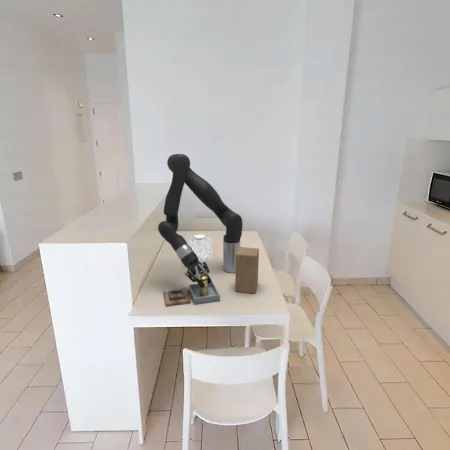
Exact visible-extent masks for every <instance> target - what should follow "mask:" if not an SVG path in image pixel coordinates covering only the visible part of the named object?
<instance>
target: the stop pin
mask: <svg viewBox="0 0 450 450" xmlns="http://www.w3.org/2000/svg"><path fill="white" fill-rule="evenodd" d="M199 276H200V279H201V280H202V281H203V283H204V284H205V287H203V288H201V287H200V286H199V287H200V296H203V297H205V296H208V276H207V275H201V274H199Z"/></svg>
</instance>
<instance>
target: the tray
mask: <svg viewBox="0 0 450 450" xmlns="http://www.w3.org/2000/svg"><path fill="white" fill-rule="evenodd" d="M188 289H189V293H190V296H191V299H192V302H193V303H194V305H201V304H208V303H215V302H216V303H217V302H221V294H220V293H219V290H218V289H217V287H216V285H215V283H214V281H212V282H211V283H210V284H208V296H205V297H203V296H200V287H199V284H198V283H193V284H191V283H190V284H188Z"/></svg>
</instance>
